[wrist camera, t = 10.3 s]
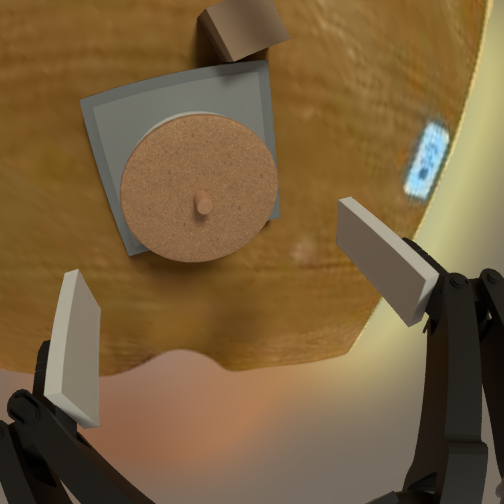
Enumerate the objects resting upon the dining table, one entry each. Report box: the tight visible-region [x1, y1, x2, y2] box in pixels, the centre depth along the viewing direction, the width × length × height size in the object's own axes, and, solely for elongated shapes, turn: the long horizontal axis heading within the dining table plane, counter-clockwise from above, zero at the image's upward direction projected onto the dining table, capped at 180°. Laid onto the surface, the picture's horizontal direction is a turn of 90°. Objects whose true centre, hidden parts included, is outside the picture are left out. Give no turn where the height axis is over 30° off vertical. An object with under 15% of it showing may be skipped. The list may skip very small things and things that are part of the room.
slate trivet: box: [80, 60, 280, 256], centre depth 27 cm, size 16×16×3 cm
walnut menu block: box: [198, 0, 290, 62], centre depth 20 cm, size 5×5×5 cm
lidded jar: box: [120, 111, 278, 262], centre depth 22 cm, size 11×11×9 cm
